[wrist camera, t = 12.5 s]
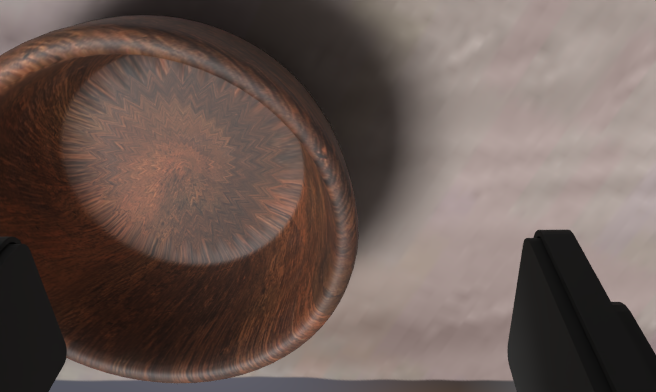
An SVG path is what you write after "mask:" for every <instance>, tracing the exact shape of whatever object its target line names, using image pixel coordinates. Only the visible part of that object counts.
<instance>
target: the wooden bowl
mask: <svg viewBox="0 0 656 392" xmlns="http://www.w3.org/2000/svg"><path fill="white" fill-rule="evenodd" d="M11 236H13V237H16V238H18V239H19V240H20V241H21V243H22V244H25V245H27V246H28V247H29V249H30V251H31V254H32V256H33V259H34V262H35V264H36V267H37V269H38V272H39V275H40V277H41V280H42V283H43V285H44V288H45V291H46V293H47V296H48V298H49V301H50V304H51V306H52V309H53V312H54V314H55V317H56V320H57V322H58V325H59V327H60V330H61V333H62V335H63V338H64V341H65V343H66V347H67V356H66V358H68V359H71V360H73V361H75V362H78V363H80V364H83V365H85V366H88V367H90V368H94V369H97V370H100V371H103V372H106V373H110V374H114V375H118V376H122V377H126V378H132V379H137V380H143V381H152V382H162V383H197V382H208V381H214V380H221V379H227V378H231V377H235V376H239V375H243V374H246V373H249V372H252V371H255V370H258V369H260V368H262V367H265V366H267V365H269V364H272V363H274V362H276V361H278V360H279V359H281V358H283V357H285V356H287V355H288V354H290V353H291V352H293V351H294V350H296V349H297V348H299V347H300V346H301V345H303V344H304V343H305V342H306V341H307V340H309V339H310V338H311V337H312V336H313V335H314V334H315V333H316V332H317V331H318V330H319V329H320V328H321V327H322V326H323V325H324V323H325V322H326V321H327V320H328V318H329V317H330V316H331V315H332V313H333V312H334V310H335V309H336V307H337V305H338V304H339V302H340V300H341V298H342V296H343V294H344V292H345V290H346V288H347V285H348V283H349V280H350V277H351V274H352V271H353V268H354V264H355V259H356V254H357V246H358V236H359V235H358V214H357V207H356V201H355V195H354V190H353V187H352V183H351V179H350V175H349V172H348V169H347V166H346V163H345V160H344V157H343V155H342V152H341V149H340V147H339V144H338V142H337V139H336V137H335V135H334V133H333V131H332V129H331V127H330V125H329V123H328V121H327V119H326V118H325V116H324V115H323V113H322V111H321V110H320V108H319V107H318V105H317V104H316V102H315V101H314V99H313V98H312V97H311V95H310V94H309V93H308V92H307V90H306V89H305V88H304V87H303V85H302V84H301V83H300V82H299V81H298V80H297V79H296V78H295V77H294V76H293V75H292V74H291V73H290V72H289V71H288V70H287V69H285V68H284V67H283V66H282V65H281V64H280V63H278V62H277V61H276V60H275V59H273V58H272V57H271V56H269V55H268V54H266V53H265V52H264V51H262V50H261V49H259V48H257V47H256V46H254V45H252V44H250V43H249V42H247V41H245V40H244V39H242V38H239V37H237V36H235V35H233V34H231V33H229V32H226V31H224V30H221V29H218V28H216V27H213V26H210V25H207V24H204V23H200V22H196V21H192V20H188V19H182V18H175V17H169V16H154V15H135V16H118V17H112V18H105V19H99V20H93V21H89V22H85V23H81V24H78V25H74V26H70V27H66V28H63V29H59V30H55V31H52V32H49V33H47V34H44V35H41V36H39V37H36V38H34V39H31V40H29V41H27V42H24V43H22V44H20V45H18V46H17V47H15V48H13V49H11V50H9V51H7V52H5V53H4V54H2V55H1V56H0V237H11Z"/></svg>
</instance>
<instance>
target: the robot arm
mask: <svg viewBox="0 0 656 392" xmlns="http://www.w3.org/2000/svg"><path fill="white" fill-rule="evenodd" d="M66 356H67V347H66V343H65V341H64V338H63V335H62V333H61V330H60V327H59V325H58V322H57V320H56V317H55V314H54V312H53V309H52V306H51V304H50V301H49V298H48V296H47V293H46V291H45V288H44V285H43V283H42V280H41V277H40V275H39V272H38V269H37V267H36V264H35V262H34V259H33V256H32V254H31V251H30V249H29V247H28V246H27V245H25V244H22V243H21V241H20V240H19V239H18V238H16V237H13V236H11V237H0V392H48V391H49V390H50V388H51V386H52V384H53V383H54V381H55V379H56V377H57V376H58V374H59V372H60V370H61V369H62V367H63V365H64V363H65V360H66ZM508 361H509V366H510V369H511V373H512V376H513V380H514V383H515V387H516V390H517V392H656V355H655V353H654V351H653V349H652V348H651V346H650V344H649V343H648V341H647V339H646V337H645V336H644V334H643V332H642V331H641V329H640V327H639V325H638V324H637V322H636V320H635V319H634V317H633V315H632V313H631V312H630V310H629V309H628V308H627V307H626V305H624V304H623V303H621V302H611V301H610V299H609V298H608V296H607V294H606V292H605V290H604V289H603V287H602V285H601V283H600V281H599V279H598V278H597V276H596V274H595V272H594V270H593V269H592V267H591V265H590V263H589V261H588V260H587V258H586V256H585V254H584V252H583V251H582V249H581V247H580V245H579V243H578V242H577V240H576V238H575V236H574V234H573V233H572V232H571V231H570V230H537V231H536V232H535V234H534V238H526V239H525V240H524V243H523V249H522V255H521V262H520V268H519V275H518V282H517V288H516V295H515V301H514V308H513V314H512V321H511V328H510V334H509V341H508Z"/></svg>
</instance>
